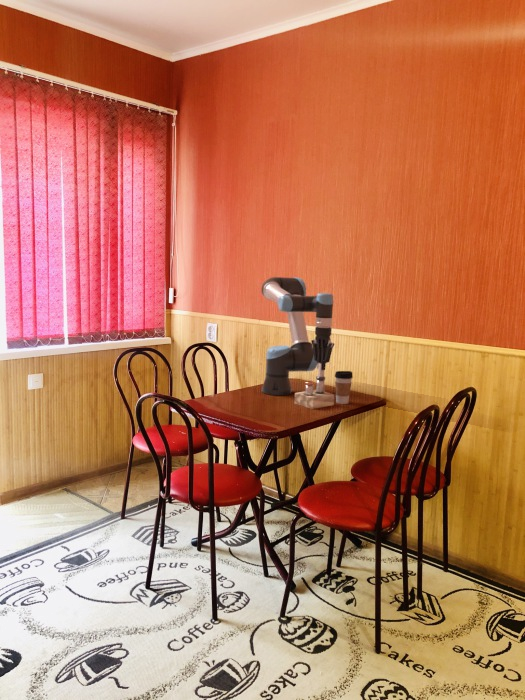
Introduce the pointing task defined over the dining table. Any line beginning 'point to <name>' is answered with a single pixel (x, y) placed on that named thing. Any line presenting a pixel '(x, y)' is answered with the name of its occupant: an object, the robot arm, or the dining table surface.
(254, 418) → the dining table surface
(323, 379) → the grey capped glass jar
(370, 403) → the dining table surface
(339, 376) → the coffee cup
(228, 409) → the dining table surface
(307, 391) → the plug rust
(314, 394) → the beech block
